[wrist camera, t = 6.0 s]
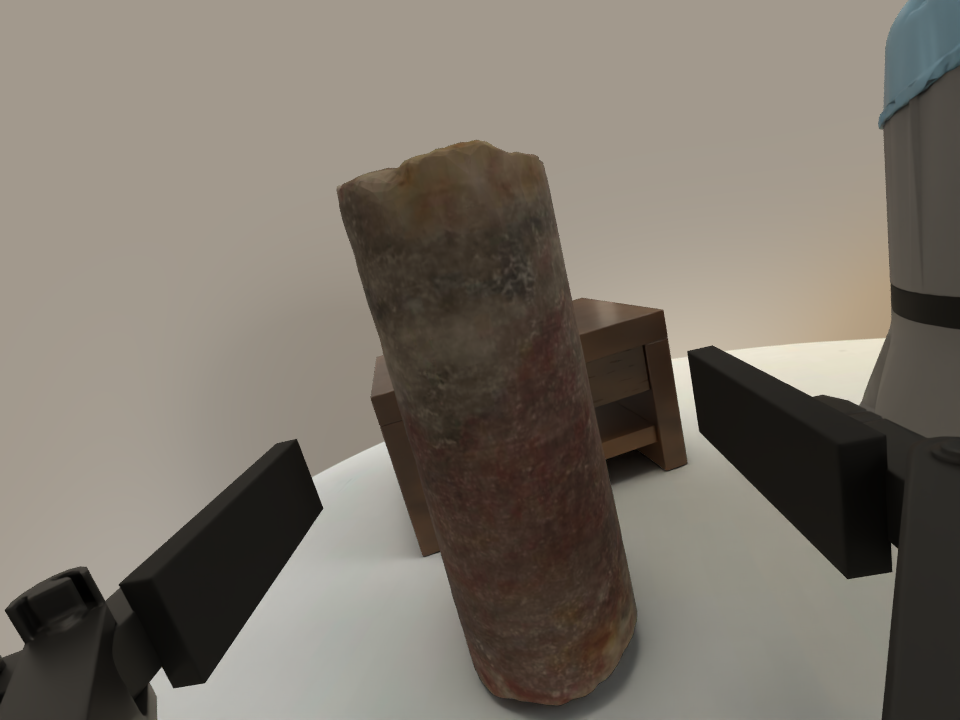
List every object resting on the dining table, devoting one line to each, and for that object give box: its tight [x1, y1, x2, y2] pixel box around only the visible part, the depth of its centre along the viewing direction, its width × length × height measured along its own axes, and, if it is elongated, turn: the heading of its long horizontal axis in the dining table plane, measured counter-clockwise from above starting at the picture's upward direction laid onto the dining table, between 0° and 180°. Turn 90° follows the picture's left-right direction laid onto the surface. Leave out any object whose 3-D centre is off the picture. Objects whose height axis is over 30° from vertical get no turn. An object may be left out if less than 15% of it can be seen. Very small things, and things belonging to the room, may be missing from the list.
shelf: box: [371, 298, 687, 557], centre depth 33 cm, size 18×12×10 cm, turn 101°
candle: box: [337, 140, 637, 705], centre depth 18 cm, size 8×7×20 cm
